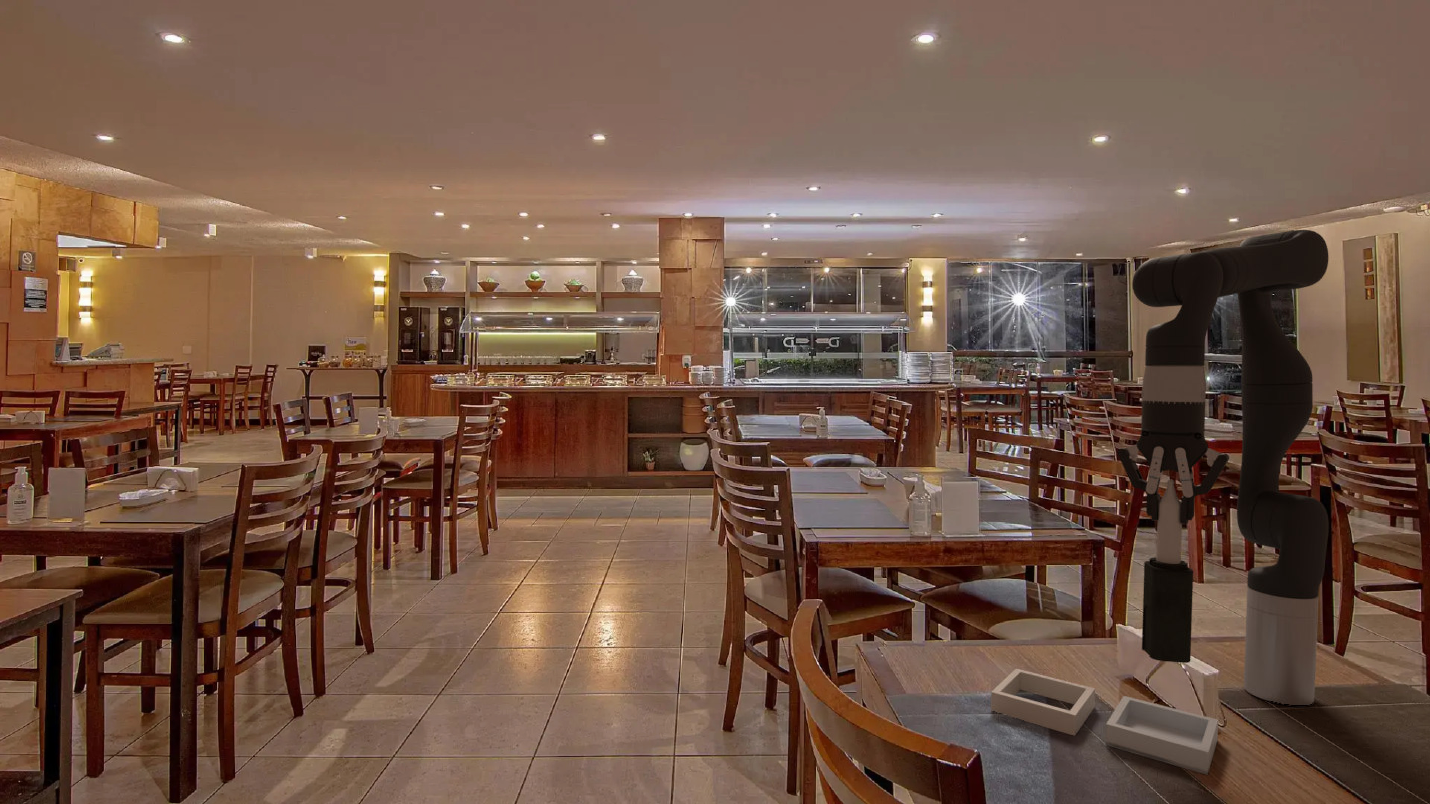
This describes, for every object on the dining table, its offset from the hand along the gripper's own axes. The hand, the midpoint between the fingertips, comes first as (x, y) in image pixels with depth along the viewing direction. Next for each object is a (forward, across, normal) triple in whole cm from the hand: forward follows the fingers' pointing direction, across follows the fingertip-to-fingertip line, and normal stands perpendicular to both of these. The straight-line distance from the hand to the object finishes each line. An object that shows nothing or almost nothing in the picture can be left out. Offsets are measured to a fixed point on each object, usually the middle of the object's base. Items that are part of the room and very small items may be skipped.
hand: (1169, 520), depth 103 cm
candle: (+19, 0, 0) cm, 19 cm away
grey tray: (+32, 0, 0) cm, 32 cm away
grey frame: (+32, +16, 0) cm, 36 cm away
